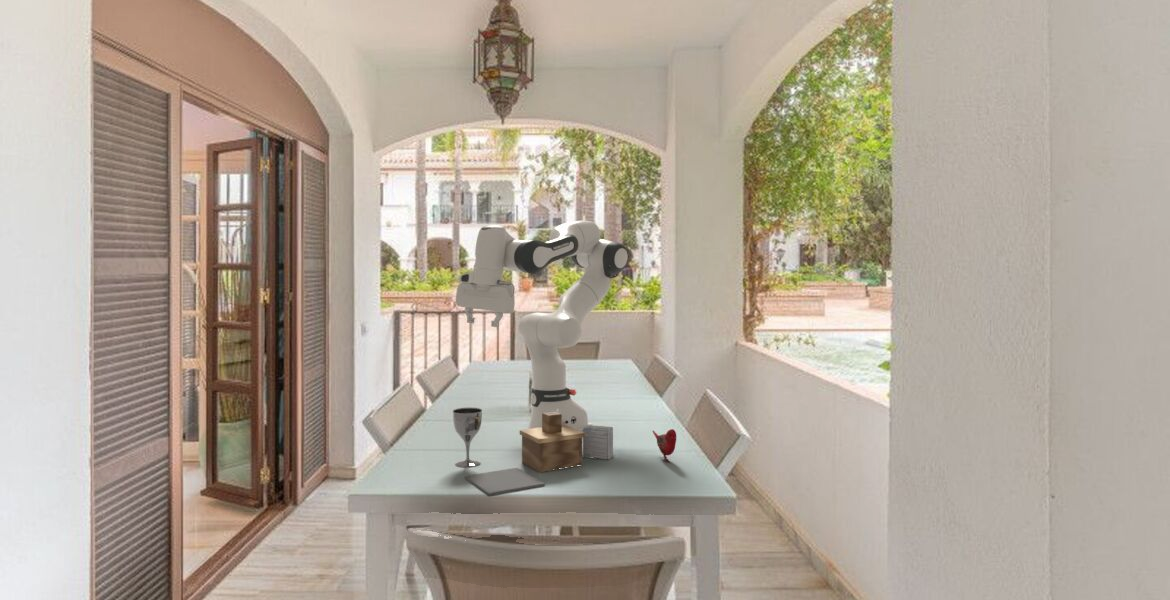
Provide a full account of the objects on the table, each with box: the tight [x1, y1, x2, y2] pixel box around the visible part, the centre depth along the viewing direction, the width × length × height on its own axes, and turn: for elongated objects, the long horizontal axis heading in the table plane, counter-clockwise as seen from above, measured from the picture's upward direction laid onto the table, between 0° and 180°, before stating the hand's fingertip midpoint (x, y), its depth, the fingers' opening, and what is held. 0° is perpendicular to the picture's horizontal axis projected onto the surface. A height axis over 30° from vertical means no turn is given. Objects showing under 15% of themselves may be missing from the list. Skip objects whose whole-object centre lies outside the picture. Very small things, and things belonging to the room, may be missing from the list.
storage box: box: [521, 435, 583, 473], centre depth 199 cm, size 13×11×8 cm
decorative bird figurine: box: [652, 428, 677, 463], centre depth 205 cm, size 3×18×10 cm, turn 15°
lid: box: [519, 412, 585, 444], centre depth 199 cm, size 14×12×7 cm
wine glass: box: [452, 407, 483, 469], centre depth 199 cm, size 8×8×15 cm
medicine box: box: [582, 424, 614, 460], centre depth 207 cm, size 8×4×9 cm, turn 71°
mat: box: [464, 467, 546, 496], centre depth 183 cm, size 15×16×1 cm
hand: (482, 325), depth 215 cm, fingers open, 8 cm apart
